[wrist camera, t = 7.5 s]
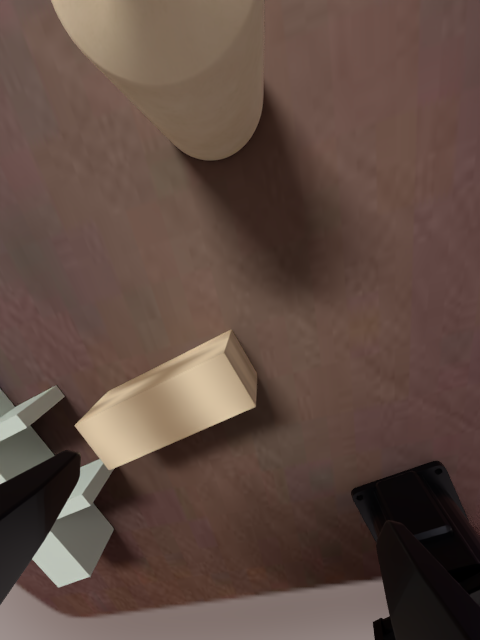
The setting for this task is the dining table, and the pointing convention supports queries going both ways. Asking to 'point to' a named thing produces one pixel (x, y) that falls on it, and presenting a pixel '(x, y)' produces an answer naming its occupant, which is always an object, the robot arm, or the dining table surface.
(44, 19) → the dining table surface
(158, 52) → the candle
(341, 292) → the dining table surface
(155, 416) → the tan wooden block
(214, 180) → the dining table surface
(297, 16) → the dining table surface
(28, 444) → the rail
